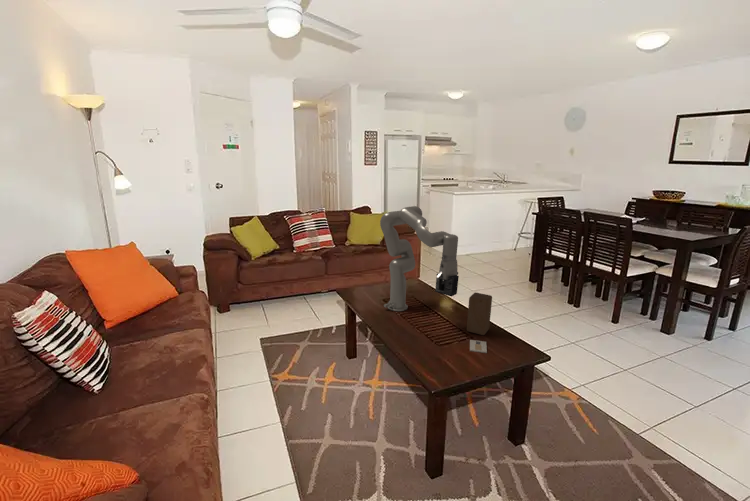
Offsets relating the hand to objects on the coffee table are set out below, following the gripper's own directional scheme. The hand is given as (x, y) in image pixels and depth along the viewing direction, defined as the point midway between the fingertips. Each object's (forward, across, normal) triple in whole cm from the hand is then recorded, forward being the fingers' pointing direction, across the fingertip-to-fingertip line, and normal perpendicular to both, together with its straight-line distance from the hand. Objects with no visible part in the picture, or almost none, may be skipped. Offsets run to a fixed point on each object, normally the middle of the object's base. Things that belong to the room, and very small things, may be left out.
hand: (446, 288), depth 210 cm
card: (+21, -4, -27) cm, 35 cm away
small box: (+3, 0, 0) cm, 3 cm away
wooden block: (+22, +11, -15) cm, 29 cm away
